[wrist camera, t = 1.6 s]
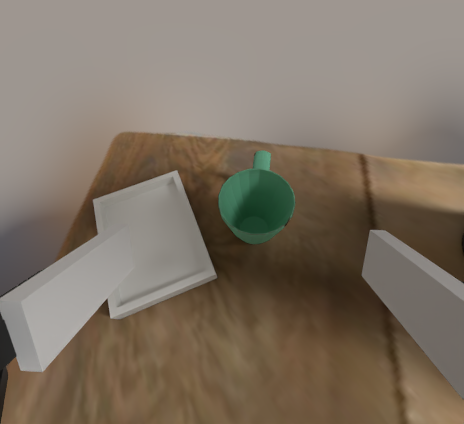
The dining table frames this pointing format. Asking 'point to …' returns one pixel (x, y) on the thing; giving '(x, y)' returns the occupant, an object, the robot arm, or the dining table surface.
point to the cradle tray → (155, 243)
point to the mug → (256, 202)
